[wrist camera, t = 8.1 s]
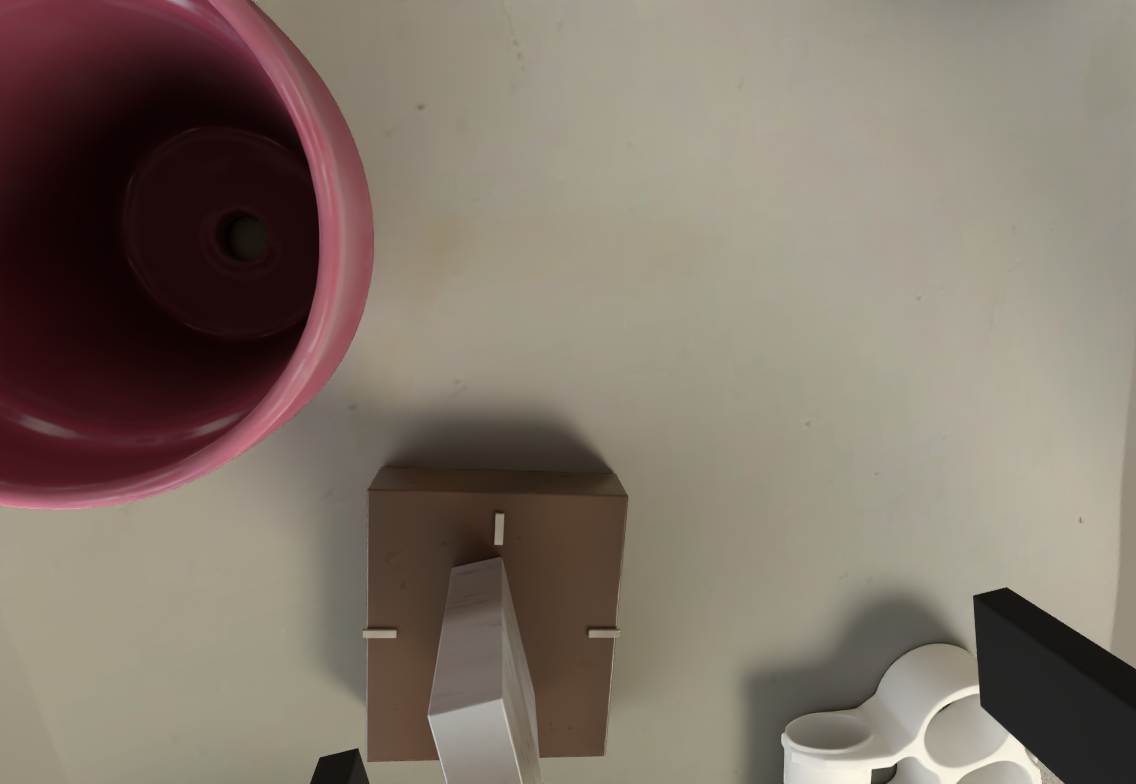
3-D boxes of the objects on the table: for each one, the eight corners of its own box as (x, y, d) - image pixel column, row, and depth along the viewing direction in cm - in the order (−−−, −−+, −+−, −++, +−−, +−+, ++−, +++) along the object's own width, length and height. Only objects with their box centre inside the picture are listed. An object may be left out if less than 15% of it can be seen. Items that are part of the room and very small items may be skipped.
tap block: (618, 473, 30) (632, 497, 27) (598, 712, 32) (608, 759, 29) (378, 466, 28) (363, 490, 25) (376, 715, 31) (362, 765, 28)
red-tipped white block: (451, 567, 27) (425, 721, 18) (501, 555, 27) (502, 703, 18) (486, 706, 28) (480, 914, 19) (534, 694, 28) (550, 895, 19)
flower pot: (68, 392, 26) (-321, 505, 14) (44, 32, 24) (-463, -227, 11) (411, 412, 28) (340, 529, 16) (424, 79, 25) (351, -101, 13)
